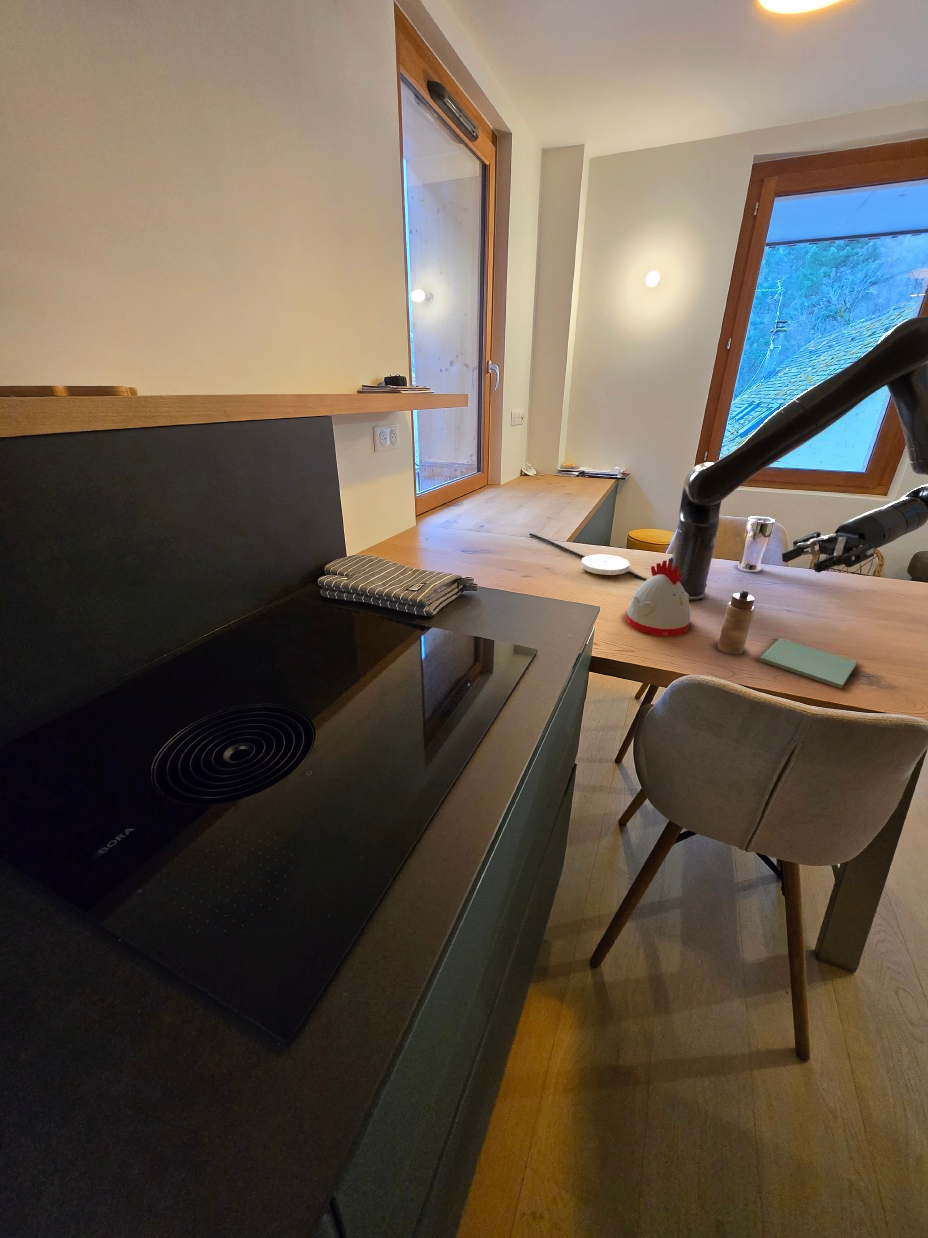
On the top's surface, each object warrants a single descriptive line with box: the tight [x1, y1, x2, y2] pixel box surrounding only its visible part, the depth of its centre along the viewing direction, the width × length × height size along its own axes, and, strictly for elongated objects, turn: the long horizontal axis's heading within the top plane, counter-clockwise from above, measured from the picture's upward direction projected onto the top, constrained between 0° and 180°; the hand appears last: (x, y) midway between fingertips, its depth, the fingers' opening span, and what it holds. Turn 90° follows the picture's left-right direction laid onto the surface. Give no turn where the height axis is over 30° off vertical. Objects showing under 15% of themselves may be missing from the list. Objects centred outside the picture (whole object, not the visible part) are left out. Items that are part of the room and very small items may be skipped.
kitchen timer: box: [625, 559, 691, 637], centre depth 113 cm, size 14×14×15 cm
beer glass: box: [737, 516, 776, 573], centre depth 144 cm, size 7×7×15 cm
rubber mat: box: [759, 637, 858, 689], centre depth 98 cm, size 14×12×1 cm
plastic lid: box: [580, 553, 631, 576], centre depth 147 cm, size 14×14×2 cm
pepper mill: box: [717, 590, 756, 655], centre depth 101 cm, size 5×5×13 cm
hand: (798, 562), depth 102 cm, fingers open, 8 cm apart
